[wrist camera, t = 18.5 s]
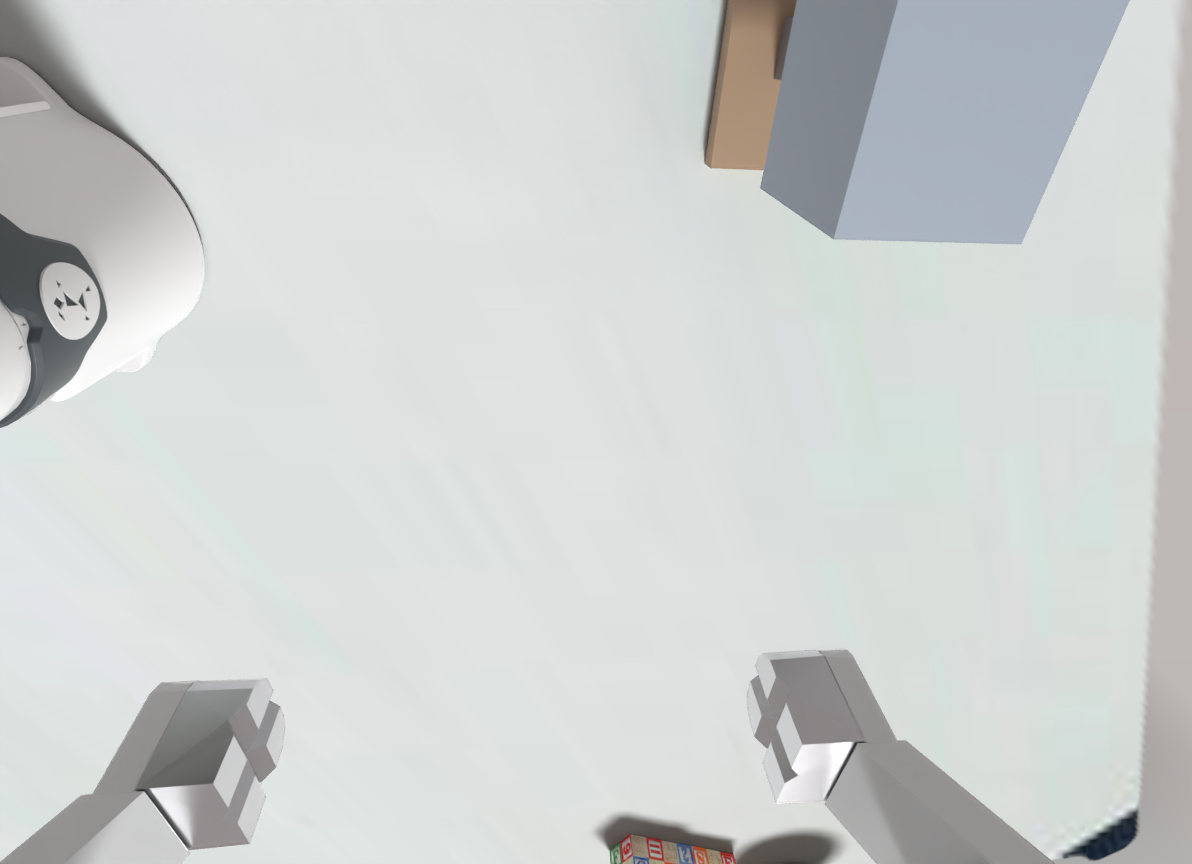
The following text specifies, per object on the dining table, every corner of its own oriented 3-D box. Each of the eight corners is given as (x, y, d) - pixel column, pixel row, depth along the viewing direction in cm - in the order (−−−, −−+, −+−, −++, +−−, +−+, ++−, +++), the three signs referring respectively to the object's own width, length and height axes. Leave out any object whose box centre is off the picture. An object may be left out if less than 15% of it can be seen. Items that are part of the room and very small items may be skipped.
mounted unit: (704, 163, 39) (818, 251, 24) (742, -102, 32) (940, -220, 16) (845, 169, 40) (1040, 257, 25) (912, -87, 33) (1247, -185, 17)
